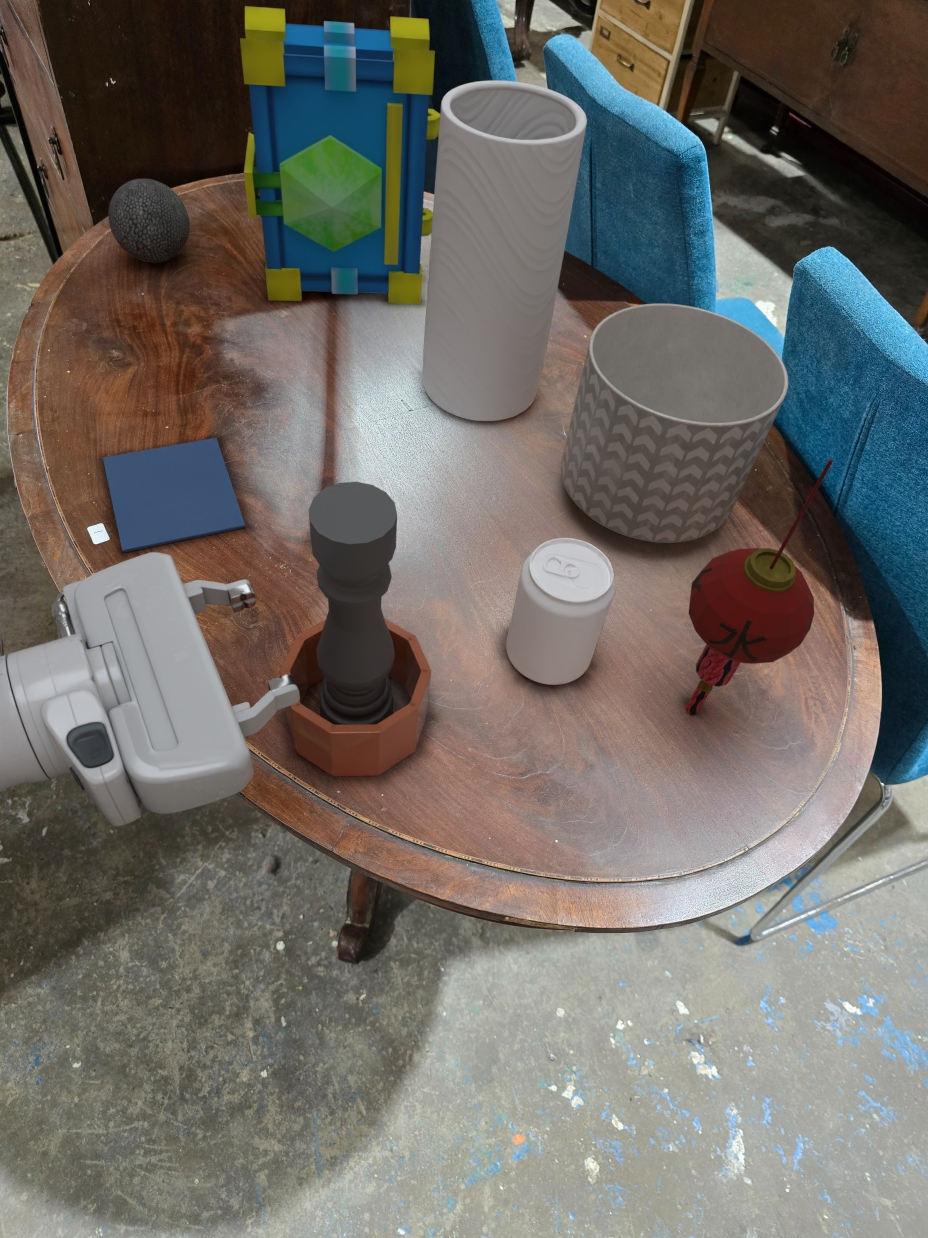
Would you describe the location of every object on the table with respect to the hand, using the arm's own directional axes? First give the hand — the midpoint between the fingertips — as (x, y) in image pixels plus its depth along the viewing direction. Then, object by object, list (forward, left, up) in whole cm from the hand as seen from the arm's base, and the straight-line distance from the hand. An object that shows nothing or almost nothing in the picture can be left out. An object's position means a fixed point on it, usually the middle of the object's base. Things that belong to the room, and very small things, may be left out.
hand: (273, 637), depth 63 cm
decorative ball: (+2, +78, -14) cm, 79 cm away
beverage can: (+25, +1, -14) cm, 28 cm away
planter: (+44, +17, -14) cm, 49 cm away
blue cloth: (-4, +32, -13) cm, 34 cm away
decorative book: (+25, +66, -14) cm, 72 cm away
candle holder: (+6, 0, -14) cm, 15 cm away
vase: (+34, +40, -14) cm, 54 cm away
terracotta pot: (+6, 0, -13) cm, 15 cm away
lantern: (+35, -9, -14) cm, 39 cm away
